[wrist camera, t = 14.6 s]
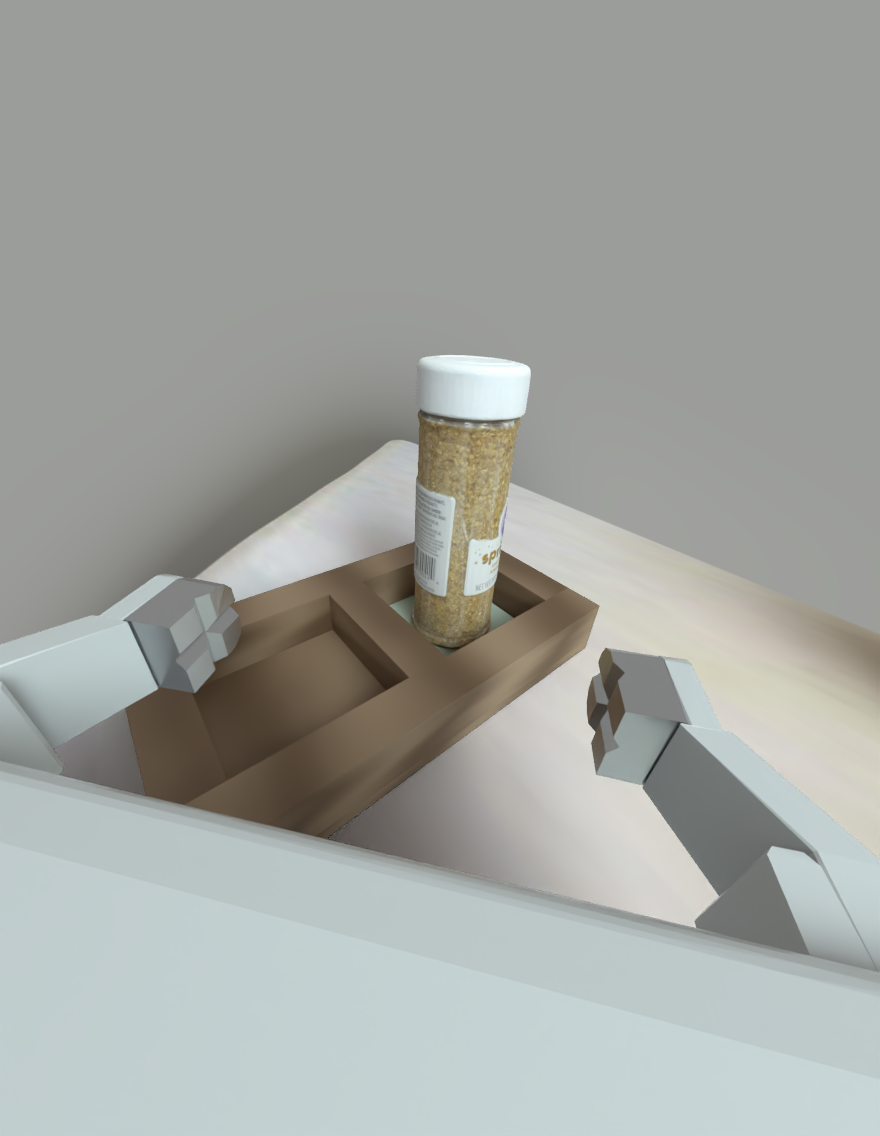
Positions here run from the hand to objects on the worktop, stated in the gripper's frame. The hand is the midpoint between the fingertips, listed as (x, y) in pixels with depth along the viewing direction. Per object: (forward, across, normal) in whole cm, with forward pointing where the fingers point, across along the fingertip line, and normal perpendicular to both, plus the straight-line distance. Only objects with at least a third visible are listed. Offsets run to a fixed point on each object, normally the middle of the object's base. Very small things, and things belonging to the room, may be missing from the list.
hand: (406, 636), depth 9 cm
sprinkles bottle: (+11, 0, -9) cm, 15 cm away
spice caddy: (+8, -3, -10) cm, 13 cm away
